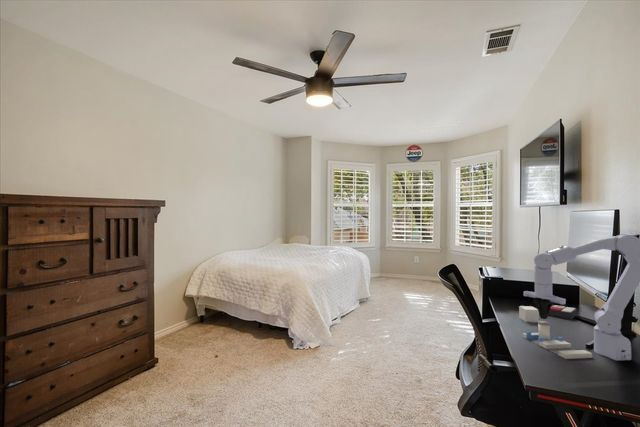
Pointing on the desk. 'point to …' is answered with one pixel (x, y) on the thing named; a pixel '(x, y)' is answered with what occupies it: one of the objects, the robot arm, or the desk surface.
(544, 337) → the cream round-ended cylinder
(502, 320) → the desk surface
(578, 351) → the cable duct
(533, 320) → the cream white cube
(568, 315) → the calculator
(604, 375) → the desk surface
